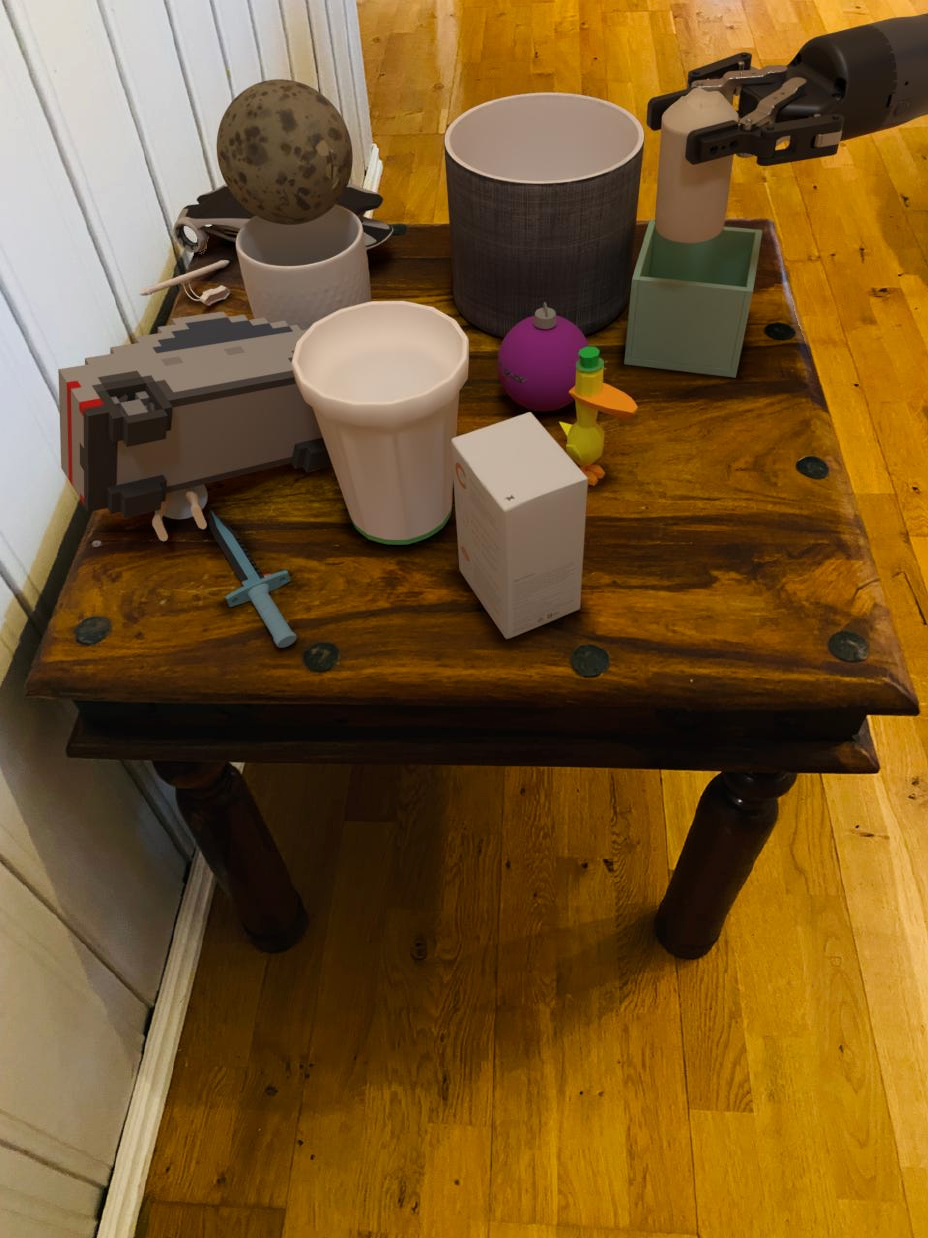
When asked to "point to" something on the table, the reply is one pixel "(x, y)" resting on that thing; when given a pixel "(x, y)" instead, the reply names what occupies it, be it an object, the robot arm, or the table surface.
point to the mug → (304, 267)
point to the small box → (519, 522)
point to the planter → (543, 209)
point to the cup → (387, 411)
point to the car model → (233, 215)
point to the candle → (692, 171)
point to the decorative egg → (284, 152)
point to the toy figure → (592, 412)
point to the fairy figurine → (181, 508)
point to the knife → (252, 582)
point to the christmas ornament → (541, 360)
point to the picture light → (206, 298)
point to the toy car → (185, 412)
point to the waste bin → (692, 302)
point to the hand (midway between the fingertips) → (669, 131)
